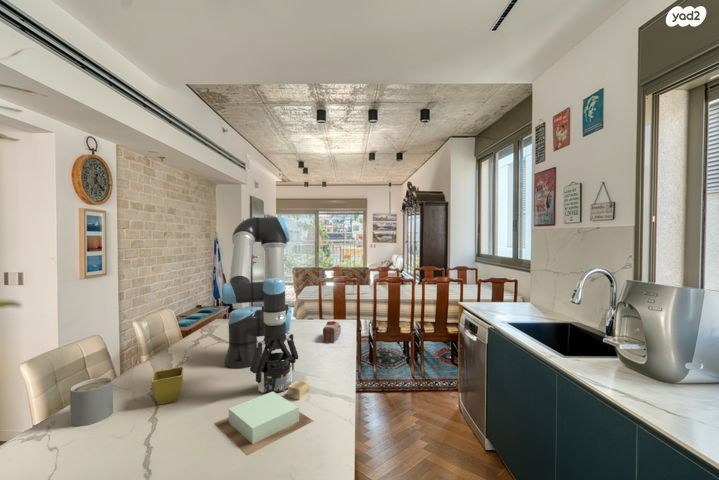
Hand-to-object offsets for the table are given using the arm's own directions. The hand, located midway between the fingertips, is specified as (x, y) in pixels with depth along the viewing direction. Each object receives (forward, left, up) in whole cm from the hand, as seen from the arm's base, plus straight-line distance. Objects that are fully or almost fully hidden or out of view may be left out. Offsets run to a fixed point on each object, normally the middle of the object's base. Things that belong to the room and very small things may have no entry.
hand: (275, 385), depth 113 cm
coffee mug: (-28, -46, -2) cm, 54 cm away
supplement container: (0, 0, -2) cm, 2 cm away
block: (+11, +2, -2) cm, 11 cm away
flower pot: (-21, -28, -2) cm, 35 cm away
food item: (-30, +52, -2) cm, 60 cm away
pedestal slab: (+17, -14, 0) cm, 22 cm away
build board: (+17, -14, -2) cm, 22 cm away
